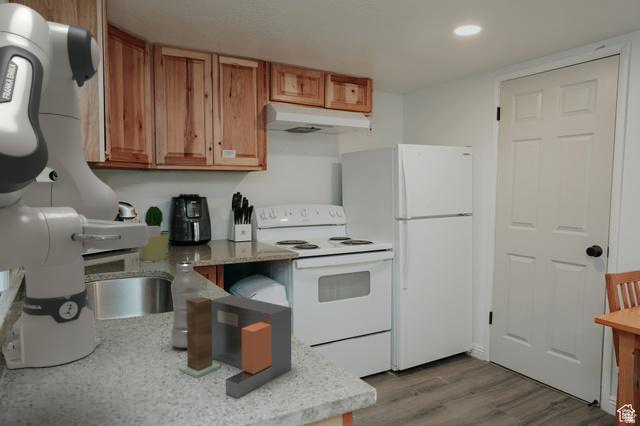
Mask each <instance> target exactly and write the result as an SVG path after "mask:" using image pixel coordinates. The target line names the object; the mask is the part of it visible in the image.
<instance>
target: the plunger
mask: <svg viewBox="0 0 640 426" xmlns="http://www.w3.org/2000/svg"><path fill="white" fill-rule="evenodd" d="M271 365H272V327H271V324H267V323H263V322H258V323H256V324H253V325H250V326H247V327H245V328H242V369H241V371H246V372H249V373H252V374H255V373H257V372H259V371H261V370H263V369H265V368H267V367H269V366H271Z"/></svg>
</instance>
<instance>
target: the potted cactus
mask: <svg viewBox="0 0 640 426" xmlns="http://www.w3.org/2000/svg"><path fill="white" fill-rule="evenodd" d="M163 222H164V214H163V211H162V210H161V208H160V207H158V206H150V207H149V208H147V210H146V212H145V215H144V223H145V224H147V225H148V226H159V227H160V228H161V227H162V226H161V225H162V223H163ZM169 238H170V232H163V231H160V236H157V237H150V238H148V244H147V245H146V246H143V247H140V249H141V256H142V261H161V260H165V259H166V260H167V254H168V248H169V247H168V245H169ZM166 260H165V261H166Z"/></svg>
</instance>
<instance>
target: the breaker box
mask: <svg viewBox="0 0 640 426" xmlns="http://www.w3.org/2000/svg"><path fill="white" fill-rule="evenodd" d="M211 303H212V360H216V361H218V362H221V363H223V364H226V365H229V366H232V367H235V368H237V369H240V370H241V371H240V372H238V373H235V374H234V375H232V376H230V377H228V378H226V379H225V394H226V395H228V396H230V397H233V398H235V399H240V398H241V397H243V396H245V395H247V394H249V393H251V392H252V391H254V390H256V389H258V388H260V387H262V386H263V385H265V384H267V383H269V382H272V381H273V380H275V379H277V378H278V377H280V376H282V375H284V374H285V373H288V372H289V371H291V370H292V307H291V306H290V307H289V306H286V305H281V304H277V303H271V302H266V301H262V300H258V299H253V298H248V297H243V296H238V295H234V294H231V295H230V294H229V295H225V296H221V297H219V298H214V299H211ZM258 322H263V323H267V324H271V327H272V365H271V366H269V367H267V368H265V369H263V370H261V371H259V372H257V373H255V374H252V373H249V372H246V371H243V370H242V328H245V327H247V326H250V325H253V324H256V323H258Z"/></svg>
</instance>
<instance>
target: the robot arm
mask: <svg viewBox="0 0 640 426" xmlns="http://www.w3.org/2000/svg"><path fill="white" fill-rule="evenodd" d="M99 48H100V47H99V45H98V43H97V41H96V39H95V36H94V34H93V33H92V32H91V31H90V30H89V29H87V28H85V27H82V26H79V25H77V24H76V25H75V24H69V25H68V24H63V23H59V22H54V21H49V20H46V19H45V18H44V17H43V16H42V15H41V14H40V13H39V12H37V11H36V10H34V9H33V8H31V7H29V6H27V5H25V4H20V3H16V2H6V3H5V2H4V3H2V4H0V273H3V272H6V271H10V270H12V269H16V268H19V267H23V268H24V269H23V270H24V276H25V287H26V288H25V290H26V293H25V296H24V297H23V302H22V312H23V313H22V314H21V315H20V316H19V318H18V319H17V320H16V321H15V323H13V325H12V329H9V330H7V331H5V338H6V340H5V341H6V342H8V343H9V345H8V348H7V351H6V353H5V360H6V362H5V365H6V367H7V369H10V370H11V369H12V370H14V369H22V368H43V367H53V366H58V365H63V364H67V363H71V362H73V361H77V360H80V359H82V358H85V357H87V356H88V355H91V354H92V353H93V352H94V351H95V349H96V347H98V346H100V345H101V344H102V338H101V337H97V335H96V324H95V318H94V317H95V315H94V311H93V310H91V309H90V308H88V307H87V305H89V304H88V303H89V301H88V299H89V296H88V290H87V288H86V283H85V280H86V279H85V259H84V258H83V255H84V254H85V253H87V251H88V250H89V249H92V250H106V251H107V250H122V249H123V250H124V249H130V248H131V249H132V248H141V247H143V246H146V245H147V244H148V238H150V237H157V236H160V232H161V226H160V227H159V226H148V225H147V224H146V223H145V222H130V221H117V220H115V219H116V218H117V216H118V213H119V210H120V202H119V199H118V196H117V194H116V192H115V190H113V189H112V187H110V185H108V184H106V183H105V182H103V181H102V180H101V179H100V178H99V177H98V176H96V174H95V173H94V172H93V171H92V169H91V168H90V166H89V164H88V162H87V160H86V157H85V153H84V149H83V139H82V123H81V122H82V120H81V109H80V108H81V107H80V101H79V94H78V91H77V87H78V88H82V87H83V86H84V84H85V82H87V81H89V80H91V79H92V78H94V76H95V75H96V74H97V73H98V68H99V66H100V62H101V61H100V60H101V52H100V49H99ZM75 81H76V83H75ZM76 84H77V86H76ZM46 168H48V169H50V170H52V171H54V172H55V173H56V175H57V179H56V180H54V181H35V180H36V179H37V178H38V177H39V176H40V175H41V174H42V173H43V171H44V170H45V169H46ZM5 360H4V361H5Z"/></svg>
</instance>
